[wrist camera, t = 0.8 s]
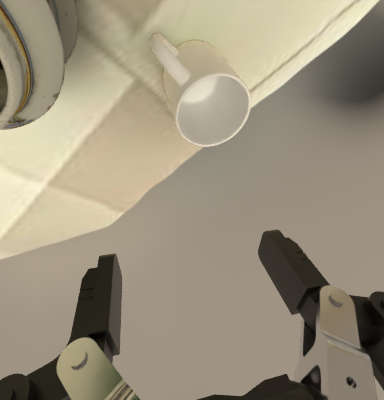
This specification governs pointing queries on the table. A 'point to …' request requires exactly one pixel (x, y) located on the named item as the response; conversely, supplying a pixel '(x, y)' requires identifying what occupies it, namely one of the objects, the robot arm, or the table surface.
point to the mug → (202, 91)
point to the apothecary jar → (33, 56)
